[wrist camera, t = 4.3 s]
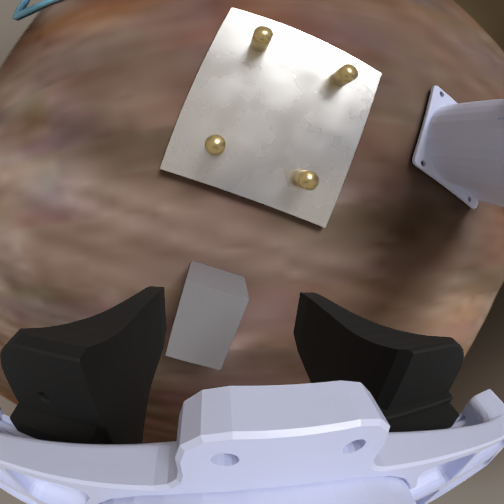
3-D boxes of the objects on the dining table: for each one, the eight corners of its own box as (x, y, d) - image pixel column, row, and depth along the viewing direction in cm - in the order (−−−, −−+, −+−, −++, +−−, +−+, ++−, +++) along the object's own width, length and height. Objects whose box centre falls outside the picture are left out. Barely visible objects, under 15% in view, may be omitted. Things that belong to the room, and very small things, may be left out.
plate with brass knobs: (375, 76, 18) (394, 67, 15) (320, 225, 21) (335, 234, 18) (231, 13, 15) (233, -7, 12) (162, 168, 18) (152, 169, 16)
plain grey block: (285, 251, 22) (301, 274, 17) (238, 362, 24) (242, 398, 20) (170, 214, 20) (156, 228, 16) (140, 336, 23) (127, 369, 18)
